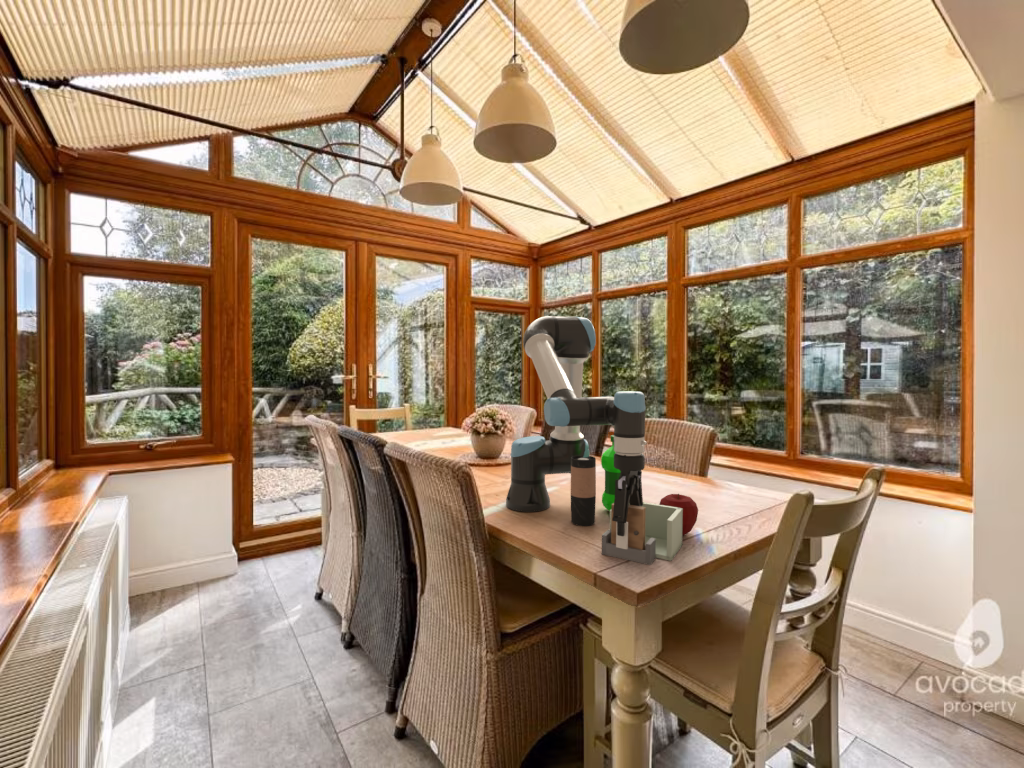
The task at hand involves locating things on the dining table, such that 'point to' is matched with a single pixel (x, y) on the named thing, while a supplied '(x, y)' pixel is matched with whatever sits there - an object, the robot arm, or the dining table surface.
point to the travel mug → (583, 490)
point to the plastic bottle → (609, 476)
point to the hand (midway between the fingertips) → (628, 541)
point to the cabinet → (652, 536)
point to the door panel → (632, 527)
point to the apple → (688, 509)
